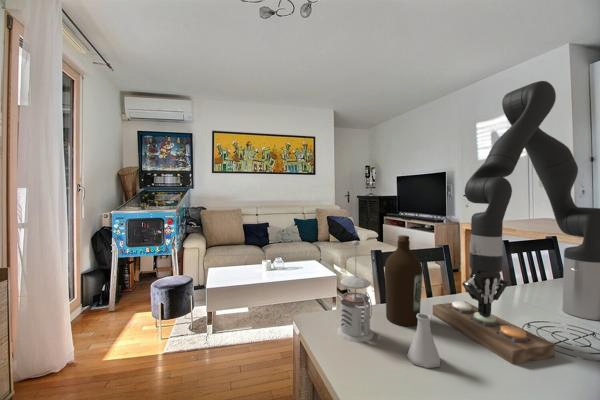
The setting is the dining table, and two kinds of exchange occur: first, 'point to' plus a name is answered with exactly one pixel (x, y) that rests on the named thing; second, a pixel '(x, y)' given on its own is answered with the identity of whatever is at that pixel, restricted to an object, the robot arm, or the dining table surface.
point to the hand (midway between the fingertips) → (484, 315)
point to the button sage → (485, 320)
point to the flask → (423, 344)
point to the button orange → (513, 334)
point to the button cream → (461, 307)
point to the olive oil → (403, 284)
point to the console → (496, 336)
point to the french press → (355, 309)
